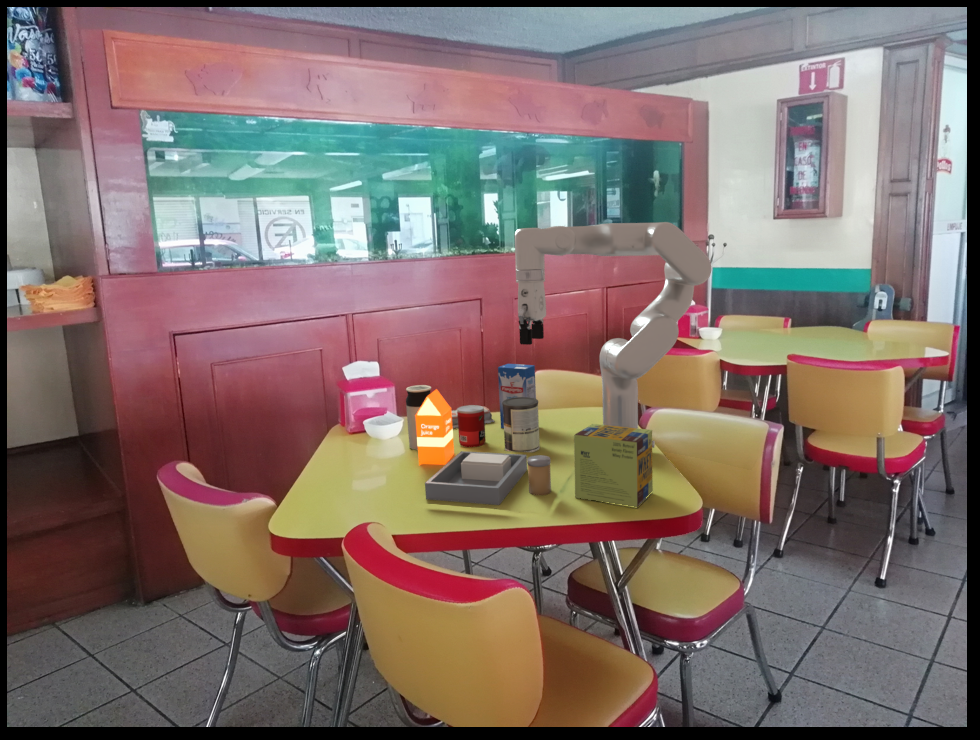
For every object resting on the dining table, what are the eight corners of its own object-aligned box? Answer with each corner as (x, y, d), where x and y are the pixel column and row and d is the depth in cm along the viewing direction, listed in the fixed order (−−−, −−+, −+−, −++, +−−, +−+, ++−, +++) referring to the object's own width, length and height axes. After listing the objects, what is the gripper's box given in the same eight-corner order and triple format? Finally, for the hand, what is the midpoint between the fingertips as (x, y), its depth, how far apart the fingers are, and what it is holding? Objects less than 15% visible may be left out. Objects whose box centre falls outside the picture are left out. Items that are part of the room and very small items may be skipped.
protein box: (638, 509, 152) (637, 442, 149) (574, 498, 160) (572, 434, 157) (653, 493, 161) (653, 429, 158) (592, 483, 169) (591, 422, 166)
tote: (527, 473, 178) (526, 454, 177) (499, 509, 156) (498, 488, 155) (462, 469, 184) (461, 451, 183) (426, 503, 162) (424, 482, 161)
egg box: (511, 472, 177) (510, 454, 176) (503, 481, 170) (502, 463, 169) (471, 469, 180) (470, 452, 179) (461, 478, 174) (460, 461, 173)
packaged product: (483, 403, 236) (494, 409, 227) (484, 417, 237) (494, 423, 228) (433, 410, 230) (441, 417, 221) (434, 424, 231) (442, 431, 222)
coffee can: (497, 451, 198) (495, 403, 195) (517, 441, 206) (515, 395, 203) (527, 456, 192) (525, 407, 189) (546, 446, 200) (545, 398, 197)
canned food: (485, 447, 202) (483, 410, 200) (458, 448, 202) (456, 412, 200) (486, 439, 210) (484, 404, 207) (460, 440, 210) (457, 405, 208)
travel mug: (429, 451, 201) (425, 391, 197) (404, 449, 203) (400, 390, 200) (440, 443, 208) (436, 385, 205) (416, 441, 211) (412, 384, 207)
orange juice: (454, 457, 194) (450, 388, 190) (446, 468, 185) (441, 396, 182) (428, 457, 196) (423, 388, 192) (418, 467, 187) (413, 395, 183)
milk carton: (537, 426, 221) (534, 365, 217) (527, 431, 216) (525, 369, 212) (510, 423, 226) (507, 363, 222) (500, 428, 221) (497, 367, 217)
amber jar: (553, 491, 165) (552, 455, 163) (548, 500, 160) (547, 463, 158) (532, 490, 166) (530, 454, 165) (526, 498, 161) (524, 462, 160)
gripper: (533, 278, 170) (535, 347, 173) (553, 274, 185) (555, 336, 189) (505, 278, 173) (507, 346, 176) (527, 274, 188) (529, 336, 192)
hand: (532, 341), depth 182 cm, fingers open, 9 cm apart
